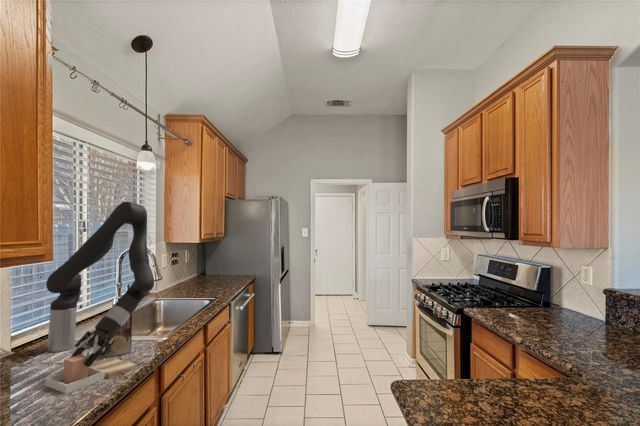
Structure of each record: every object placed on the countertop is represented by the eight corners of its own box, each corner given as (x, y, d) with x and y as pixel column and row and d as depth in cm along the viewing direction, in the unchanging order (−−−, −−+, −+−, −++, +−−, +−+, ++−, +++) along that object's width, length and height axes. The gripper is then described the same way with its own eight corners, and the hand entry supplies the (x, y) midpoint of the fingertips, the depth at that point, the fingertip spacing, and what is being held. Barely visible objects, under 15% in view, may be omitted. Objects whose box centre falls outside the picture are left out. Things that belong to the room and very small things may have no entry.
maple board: (84, 370, 124) (85, 366, 124) (112, 361, 133) (112, 357, 133) (109, 378, 118) (109, 374, 118) (135, 368, 126) (136, 364, 127)
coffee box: (130, 348, 147) (131, 311, 148) (131, 353, 142) (133, 314, 143) (104, 352, 142) (106, 313, 143) (105, 357, 137) (107, 317, 138)
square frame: (44, 385, 112) (45, 377, 112) (83, 372, 122) (84, 365, 122) (65, 393, 106) (66, 385, 106) (104, 379, 117) (104, 371, 117)
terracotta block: (62, 383, 113) (64, 359, 114) (78, 378, 118) (80, 354, 118) (71, 387, 111) (72, 361, 111) (87, 381, 115) (88, 357, 116)
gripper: (94, 313, 127) (58, 354, 116) (118, 317, 121) (82, 361, 110) (108, 324, 131) (74, 365, 120) (132, 329, 125) (98, 372, 114)
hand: (78, 363), depth 115 cm, fingers open, 8 cm apart
